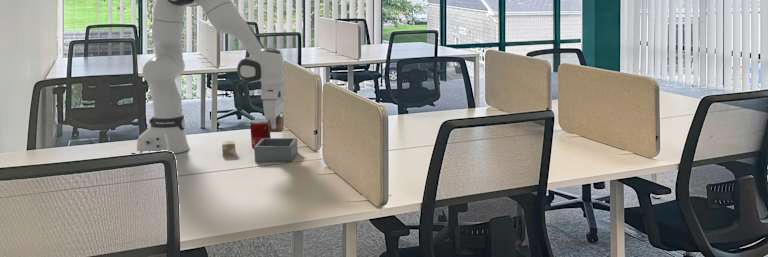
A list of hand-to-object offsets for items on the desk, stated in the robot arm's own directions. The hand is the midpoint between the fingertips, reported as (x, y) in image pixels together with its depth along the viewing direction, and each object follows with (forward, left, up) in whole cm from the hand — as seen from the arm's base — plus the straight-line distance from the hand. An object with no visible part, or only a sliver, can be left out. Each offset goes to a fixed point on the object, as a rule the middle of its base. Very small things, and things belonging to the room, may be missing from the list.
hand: (275, 126), depth 276 cm
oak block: (-20, +5, -12) cm, 24 cm away
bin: (0, 0, -12) cm, 12 cm away
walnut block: (0, 0, -2) cm, 2 cm away
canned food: (-10, +18, -12) cm, 24 cm away
